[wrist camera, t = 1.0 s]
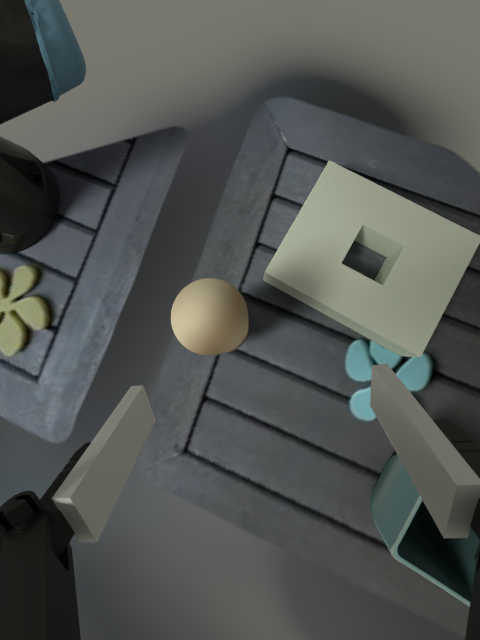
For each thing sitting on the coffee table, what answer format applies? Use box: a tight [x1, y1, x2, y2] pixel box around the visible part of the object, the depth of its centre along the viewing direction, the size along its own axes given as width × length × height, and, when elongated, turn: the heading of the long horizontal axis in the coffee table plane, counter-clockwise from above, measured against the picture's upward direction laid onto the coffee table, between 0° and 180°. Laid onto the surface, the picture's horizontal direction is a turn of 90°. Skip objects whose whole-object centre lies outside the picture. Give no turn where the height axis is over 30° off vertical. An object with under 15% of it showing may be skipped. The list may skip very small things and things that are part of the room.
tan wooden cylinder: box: [171, 278, 249, 355], centre depth 27 cm, size 6×6×15 cm
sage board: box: [263, 160, 480, 357], centre depth 33 cm, size 20×16×4 cm
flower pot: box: [370, 454, 480, 607], centre depth 28 cm, size 9×9×9 cm
